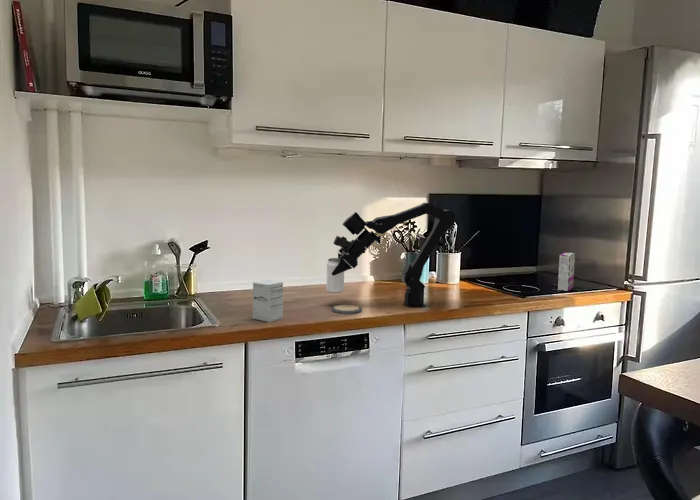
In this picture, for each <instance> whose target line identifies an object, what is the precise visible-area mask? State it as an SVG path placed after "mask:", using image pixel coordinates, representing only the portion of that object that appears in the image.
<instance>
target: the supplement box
mask: <svg viewBox="0 0 700 500" xmlns="http://www.w3.org/2000/svg"><path fill="white" fill-rule="evenodd" d="M283 293H284V281H278V280H272V279H261V280H258V281H253V282H252V319H253V320H258V321H263V322H266V323H271V322H274V321H279V320H282V319H283V310H284V308H283V307H284V305H283V303H284V301H283V300H284V298H283V297H284V294H283Z"/></svg>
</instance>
